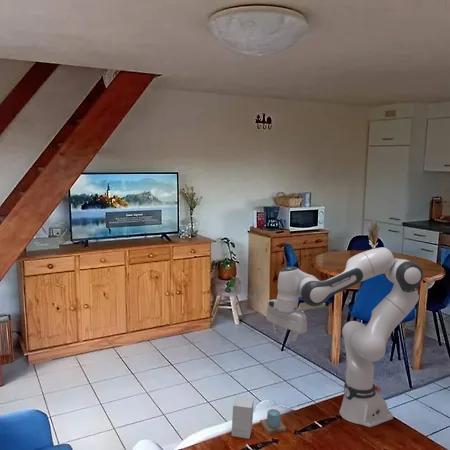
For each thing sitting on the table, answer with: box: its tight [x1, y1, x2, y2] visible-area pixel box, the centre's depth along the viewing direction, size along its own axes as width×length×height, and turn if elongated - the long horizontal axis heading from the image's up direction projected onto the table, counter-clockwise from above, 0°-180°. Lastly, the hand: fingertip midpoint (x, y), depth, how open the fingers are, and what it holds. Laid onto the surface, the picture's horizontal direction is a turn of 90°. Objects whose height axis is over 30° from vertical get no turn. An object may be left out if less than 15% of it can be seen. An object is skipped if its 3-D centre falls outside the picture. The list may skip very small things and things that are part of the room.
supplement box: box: [231, 396, 255, 439], centre depth 176 cm, size 7×7×13 cm
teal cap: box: [266, 408, 281, 428], centre depth 181 cm, size 5×5×5 cm
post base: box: [259, 418, 288, 435], centre depth 181 cm, size 8×8×4 cm
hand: (285, 337), depth 189 cm, fingers open, 8 cm apart
